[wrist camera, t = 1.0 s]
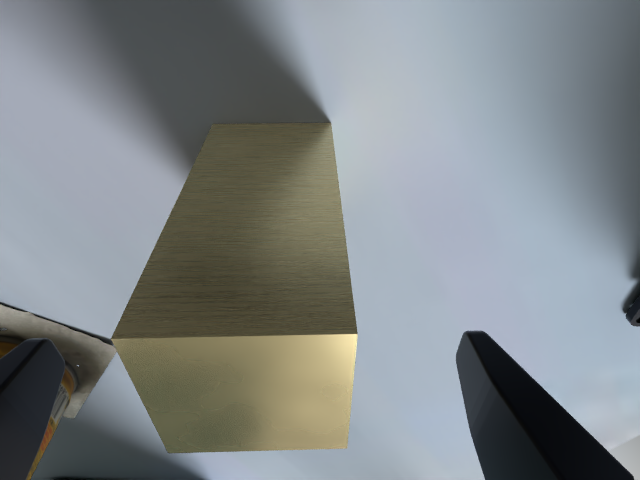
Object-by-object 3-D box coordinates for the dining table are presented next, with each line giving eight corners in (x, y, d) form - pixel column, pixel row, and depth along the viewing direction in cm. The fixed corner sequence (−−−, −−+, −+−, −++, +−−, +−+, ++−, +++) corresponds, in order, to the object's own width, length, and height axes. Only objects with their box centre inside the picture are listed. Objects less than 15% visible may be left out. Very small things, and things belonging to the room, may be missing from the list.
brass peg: (330, 122, 14) (357, 333, 7) (329, 219, 16) (347, 448, 9) (212, 123, 14) (110, 338, 6) (229, 220, 16) (168, 453, 9)
